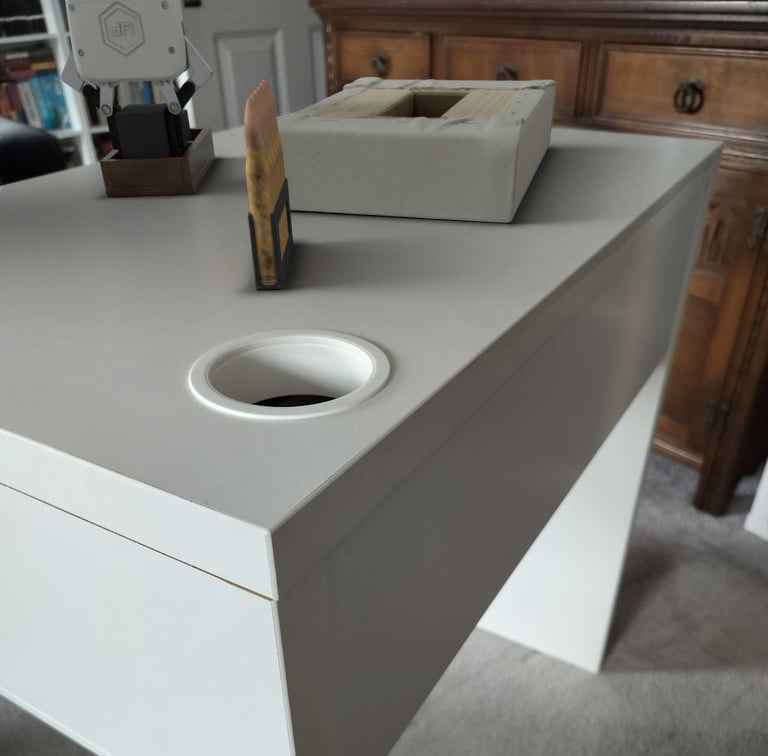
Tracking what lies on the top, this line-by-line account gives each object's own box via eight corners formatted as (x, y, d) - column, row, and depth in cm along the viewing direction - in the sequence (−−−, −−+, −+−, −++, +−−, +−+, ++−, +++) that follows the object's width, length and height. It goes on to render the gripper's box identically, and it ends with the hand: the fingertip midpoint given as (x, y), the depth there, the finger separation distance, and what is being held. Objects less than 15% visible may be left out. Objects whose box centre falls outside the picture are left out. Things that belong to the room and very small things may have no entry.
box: (518, 227, 66) (552, 146, 91) (525, 127, 62) (558, 70, 87) (264, 218, 72) (361, 144, 97) (252, 125, 67) (357, 72, 92)
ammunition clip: (270, 243, 64) (253, 76, 57) (293, 243, 64) (278, 76, 57) (256, 290, 55) (232, 100, 48) (282, 289, 55) (262, 99, 48)
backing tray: (107, 197, 77) (99, 161, 76) (141, 160, 91) (135, 129, 89) (193, 193, 78) (188, 158, 76) (215, 158, 91) (211, 127, 89)
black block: (124, 165, 77) (114, 113, 75) (136, 153, 82) (127, 104, 79) (169, 163, 77) (160, 112, 75) (179, 152, 82) (171, 103, 79)
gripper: (0, -65, 66) (57, 167, 76) (202, -70, 66) (231, 162, 77) (29, -64, 72) (78, 151, 82) (213, -68, 72) (239, 146, 83)
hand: (152, 154), depth 79 cm, fingers closed on black block, 4 cm apart
